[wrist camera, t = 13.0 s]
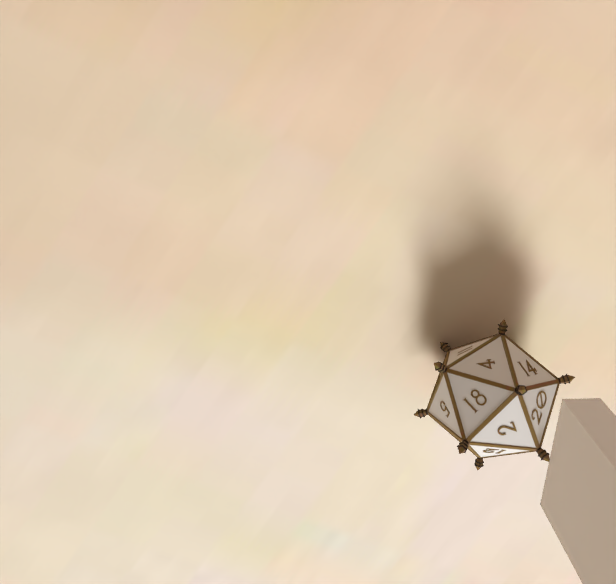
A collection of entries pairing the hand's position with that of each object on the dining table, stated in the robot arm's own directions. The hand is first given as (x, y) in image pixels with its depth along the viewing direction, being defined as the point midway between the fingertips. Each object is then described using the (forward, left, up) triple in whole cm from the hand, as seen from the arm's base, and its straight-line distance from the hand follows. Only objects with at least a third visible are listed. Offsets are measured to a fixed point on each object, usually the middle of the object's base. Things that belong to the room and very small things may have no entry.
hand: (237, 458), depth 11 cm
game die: (+13, -12, -25) cm, 30 cm away
